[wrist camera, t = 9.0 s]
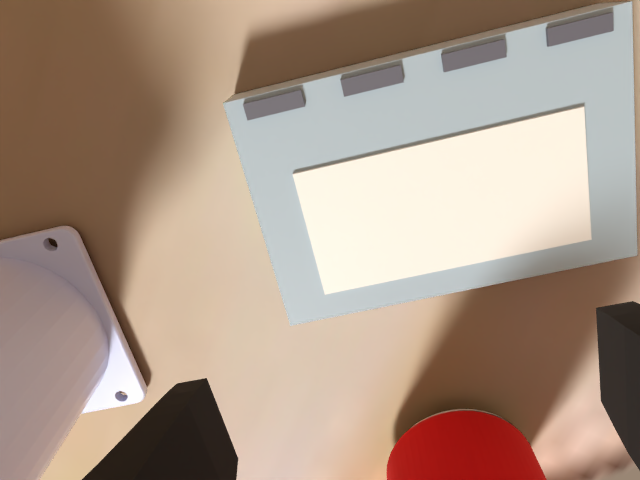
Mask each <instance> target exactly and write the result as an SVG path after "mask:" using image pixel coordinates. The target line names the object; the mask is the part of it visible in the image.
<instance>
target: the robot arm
mask: <svg viewBox="0 0 640 480" xmlns="http://www.w3.org/2000/svg"><path fill="white" fill-rule="evenodd" d="M48 238H52V239H54V240H55V241H56V242H57V245H58V247H54V246H52V245H51V244H50V243H49V240H48ZM596 314H597V333H598V352H599V371H600V390H601V402H602V404H603V406H604V408H605V410H606V412H607V414H608V415H609V417H610V419H611V421H612V423H613V425H614V427H615V429H616V431H617V433H618V435H619V437H620V439H621V441H622V442H623V444H624V446H625V448H626V450H627V452H628V454H629V455H630V457H631V458H632V460H633V461H634V463H635V464H636V466H637V467H638V469H639V470H640V304H638V303H636V302H633V301H632V302H627V303H621V304H615V305H610V306H604V307H599V308H596ZM119 391H123V392H125V393H126V394H127V395H122V394H121V393H120V392H119ZM146 393H147V386H146V384H145V382H144V379H143V377H142V375H141V373H140V370H139V368H138V366H137V364H136V361H135V359H134V357H133V355H132V352H131V350H130V348H129V345H128V343H127V341H126V339H125V336H124V334H123V332H122V330H121V327H120V325H119V323H118V321H117V318H116V316H115V314H114V312H113V309H112V307H111V305H110V302H109V300H108V298H107V296H106V293H105V291H104V289H103V287H102V284H101V282H100V280H99V278H98V275H97V273H96V271H95V269H94V266H93V264H92V262H91V259H90V257H89V255H88V253H87V250H86V248H85V246H84V244H83V241H82V239H81V237H80V235H79V233H78V232H77V231H76V230H75V229H74V228H72V227H69V226H59V227H55V228H50V229H46V230H42V231H38V232H33V233H29V234H25V235H20V236H16V237H12V238H7V239H3V240H0V480H40V478H41V477H42V475H43V474H44V472H45V470H46V469H47V467H48V466H49V464H50V462H51V461H52V459H53V458H54V456H55V454H56V453H57V451H58V450H59V448H60V446H61V445H62V443H63V442H64V440H65V438H66V437H67V435H68V434H69V432H70V430H71V429H72V427H73V426H74V424H75V422H76V421H77V419H78V418H79V416H80V414H82V413H88V412H93V411H98V410H103V409H108V408H114V407H119V406H124V405H129V404H134V403H138V402H141V401H142V400H143V399H144V398H145V396H146ZM237 465H238V457H237V455H236V452H235V450H234V447H233V444H232V442H231V439H230V437H229V434H228V432H227V429H226V426H225V424H224V421H223V419H222V416H221V414H220V411H219V409H218V406H217V403H216V401H215V398H214V396H213V393H212V391H211V388H210V385H209V383H208V380H207V378H205V379H200V380H194V381H189V382H183V383H178V384H176V385H175V386H174V387H173V388H172V389H170V390H169V391H168V392H167V393H166V394H165V395H164V396H163V397H162V398H161V399H160V400H159V401H158V402H157V403H156V404H155V405H154V406H153V407H152V408H151V409H150V411H149V412H148V413H147V414H146V415H145V416H144V417H143V418H142V419H141V420H140V421H139V422H138V423H137V424H136V425H135V426H134V427H133V428H132V429H131V430H130V431H129V432H128V434H127V435H126V436H125V437H124V438H123V439H122V440H121V441H120V442H119V443H118V444H117V445H116V446H115V447H114V448H113V449H112V450H111V451H110V452H109V453H108V454H107V455H106V456H105V457H104V458H103V459H102V460H101V461H100V463H99V464H98V465H97V466H96V467H94V468H93V469H92V470H91V471H90V472H89V473H88V474H87V475H86V476H85V477H84V478H83V479H82V480H236V476H237Z"/></svg>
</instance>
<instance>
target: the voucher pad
mask: <svg viewBox="0 0 640 480" xmlns="http://www.w3.org/2000/svg"><path fill="white" fill-rule="evenodd" d="M223 105H224V108H225V111H226V115H227V118H228V121H229V124H230V128H231V131H232V134H233V138H234V141H235V144H236V148H237V151H238V154H239V157H240V161H241V164H242V167H243V171H244V174H245V177H246V181H247V184H248V187H249V190H250V194H251V197H252V200H253V204H254V207H255V210H256V214H257V217H258V220H259V223H260V227H261V230H262V233H263V237H264V240H265V243H266V247H267V250H268V253H269V256H270V260H271V263H272V266H273V270H274V273H275V276H276V279H277V283H278V286H279V289H280V293H281V296H282V299H283V303H284V306H285V309H286V312H287V316H288V319H289V322H290V326H291V325H296V324H301V323H306V322H311V321H316V320H321V319H326V318H331V317H336V316H341V315H346V314H351V313H356V312H361V311H366V310H371V309H376V308H381V307H385V306H390V305H395V304H400V303H405V302H410V301H415V300H420V299H425V298H430V297H435V296H440V295H445V294H450V293H455V292H460V291H465V290H470V289H475V288H480V287H485V286H489V285H494V284H499V283H504V282H509V281H514V280H519V279H524V278H529V277H534V276H539V275H544V274H549V273H554V272H559V271H564V270H569V269H574V268H579V267H584V266H589V265H593V264H598V263H603V262H608V261H613V260H618V259H623V258H628V257H633V256H637V211H636V162H635V113H634V65H633V16H632V1H627V2H609V3H597V4H593V5H589V6H585V7H581V8H577V9H573V10H569V11H565V12H561V13H557V14H553V15H549V16H545V17H541V18H537V19H533V20H529V21H525V22H521V23H517V24H513V25H509V26H505V27H501V28H497V29H493V30H489V31H485V32H481V33H477V34H473V35H469V36H465V37H462V38H458V39H454V40H450V41H446V42H442V43H438V44H434V45H430V46H426V47H422V48H418V49H414V50H410V51H406V52H402V53H398V54H394V55H390V56H386V57H382V58H378V59H374V60H370V61H366V62H362V63H358V64H354V65H350V66H346V67H342V68H338V69H334V70H330V71H326V72H322V73H318V74H314V75H310V76H306V77H302V78H298V79H294V80H290V81H286V82H282V83H278V84H274V85H270V86H266V87H262V88H258V89H254V90H250V91H246V92H242V93H238V94H234V95H233V96H231V97H230V98H229V99H228V100H227V101H225V102H224V103H223Z"/></svg>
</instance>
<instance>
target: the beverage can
mask: <svg viewBox="0 0 640 480" xmlns="http://www.w3.org/2000/svg"><path fill="white" fill-rule="evenodd" d="M387 480H546V478H545V476H544V473H543V471H542V469H541V467H540V465H539V463H538V461H537V459H536V456H535V454H534V452H533V450H532V448H531V446H530V444H529V442H528V441H527V439H526V438H525V437H524V435H523V434H522V433H521V432H520V431H519V430H518V429H517V428H516V427H515V426H513V425H512V424H511V423H510V422H508V421H507V420H505V419H503V418H502V417H500V416H497V415H495V414H492V413H489V412H486V411H481V410H474V409H455V410H448V411H444V412H440V413H437V414H434V415H431V416H429V417H427V418H425V419H423V420H421V421H420V422H418V423H416V424H415V425H414V426H412V427H411V428H410V429H409V430H408V431H407V432H406V433H405V434H404V435H403V436H402V437H401V438H400V439H399V440H398V442H397V443H396V444H395V446H394V448H393V450H392V452H391V454H390V457H389V460H388V464H387Z"/></svg>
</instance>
